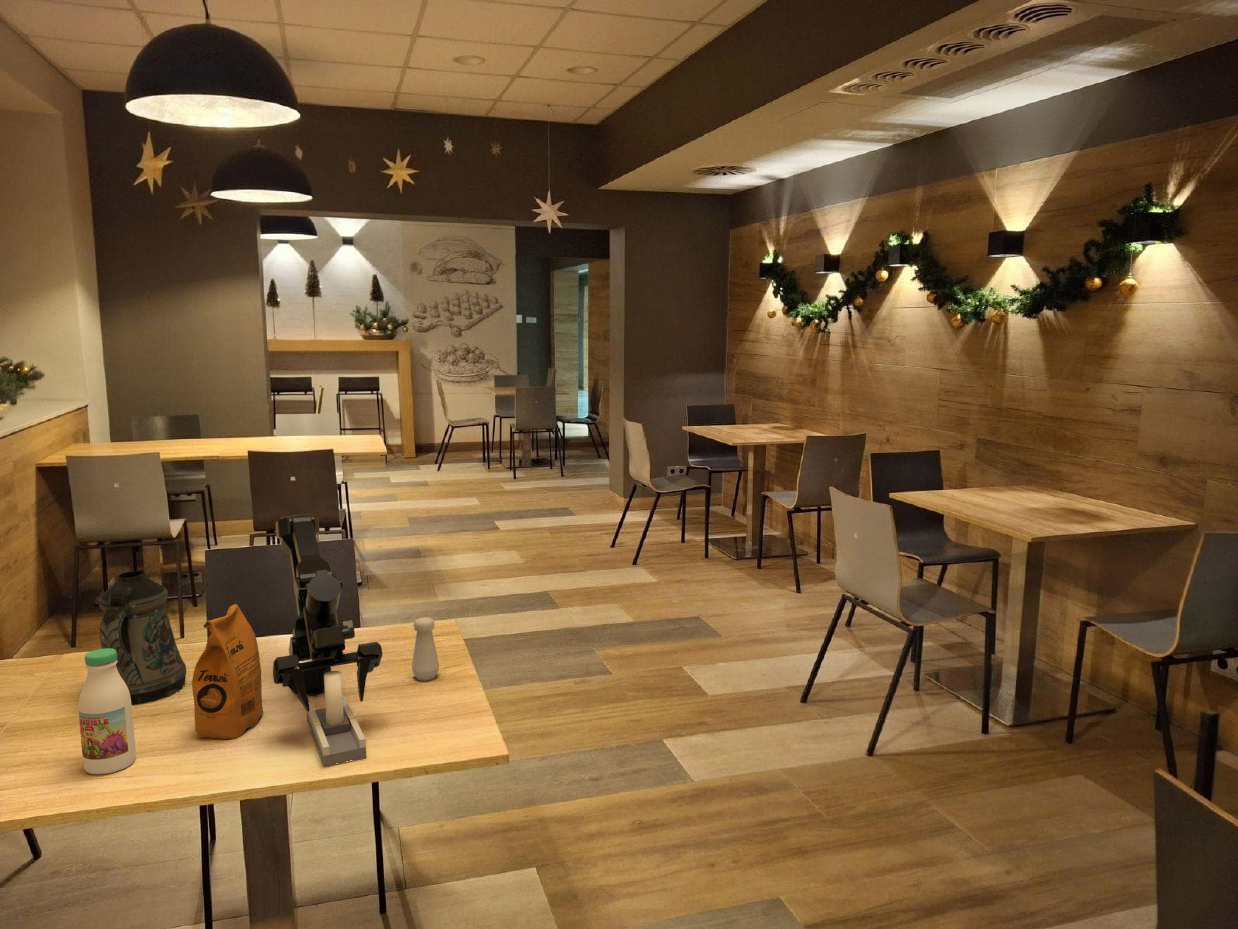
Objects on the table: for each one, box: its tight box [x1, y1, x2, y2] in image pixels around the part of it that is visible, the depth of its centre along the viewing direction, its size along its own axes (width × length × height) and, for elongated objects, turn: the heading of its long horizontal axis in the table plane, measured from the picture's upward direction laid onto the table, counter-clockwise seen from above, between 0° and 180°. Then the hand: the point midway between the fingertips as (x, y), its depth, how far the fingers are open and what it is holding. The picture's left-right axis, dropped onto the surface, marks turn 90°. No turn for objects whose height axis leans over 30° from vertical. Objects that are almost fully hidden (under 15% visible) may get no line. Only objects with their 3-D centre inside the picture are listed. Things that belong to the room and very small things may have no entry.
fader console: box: [306, 696, 367, 768], centre depth 155 cm, size 20×7×4 cm, turn 28°
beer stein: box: [97, 570, 187, 706], centre depth 174 cm, size 16×19×25 cm
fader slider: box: [321, 670, 350, 736], centre depth 154 cm, size 4×4×10 cm
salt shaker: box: [411, 616, 440, 682], centre depth 183 cm, size 6×6×13 cm
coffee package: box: [191, 604, 264, 740], centre depth 159 cm, size 10×12×22 cm
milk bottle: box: [78, 648, 137, 775], centre depth 144 cm, size 8×8×20 cm
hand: (335, 705), depth 153 cm, fingers open, 9 cm apart
